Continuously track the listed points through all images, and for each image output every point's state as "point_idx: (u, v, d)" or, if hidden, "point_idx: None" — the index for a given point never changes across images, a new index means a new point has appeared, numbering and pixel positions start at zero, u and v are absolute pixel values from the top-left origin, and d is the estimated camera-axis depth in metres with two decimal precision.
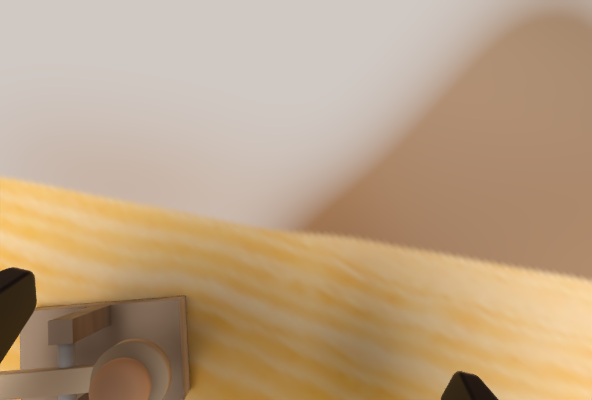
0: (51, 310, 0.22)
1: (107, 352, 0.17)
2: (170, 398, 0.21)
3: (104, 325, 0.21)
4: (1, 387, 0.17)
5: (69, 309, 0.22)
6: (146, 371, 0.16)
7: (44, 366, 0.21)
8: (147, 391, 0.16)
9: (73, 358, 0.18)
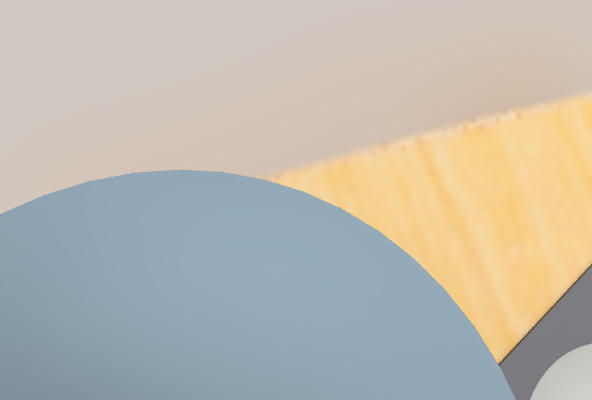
0: None
1: None
2: None
3: None
4: None
5: None
6: None
7: None
8: None
9: None
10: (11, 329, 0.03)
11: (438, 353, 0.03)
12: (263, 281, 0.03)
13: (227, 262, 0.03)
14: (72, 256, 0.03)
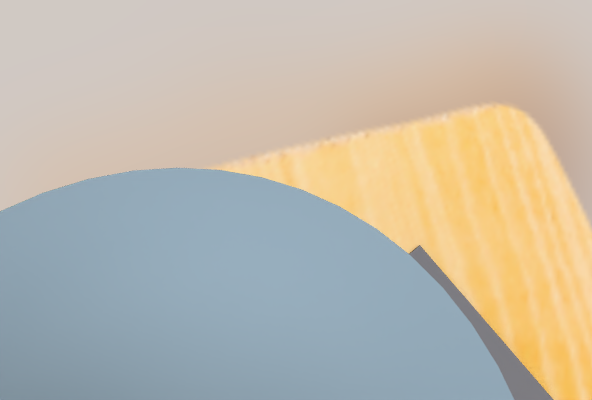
0: None
1: None
2: None
3: None
4: None
5: None
6: None
7: None
8: None
9: None
10: (9, 326, 0.03)
11: (435, 350, 0.03)
12: (261, 278, 0.03)
13: (223, 261, 0.03)
14: (70, 254, 0.03)
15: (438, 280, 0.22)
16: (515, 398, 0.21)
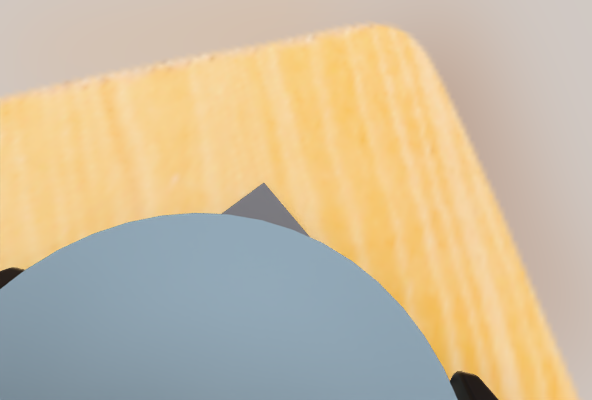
0: None
1: None
2: None
3: None
4: None
5: None
6: None
7: None
8: None
9: None
10: (70, 339, 0.04)
11: (395, 356, 0.04)
12: (261, 301, 0.04)
13: (232, 287, 0.04)
14: (115, 282, 0.04)
15: (283, 223, 0.18)
16: None
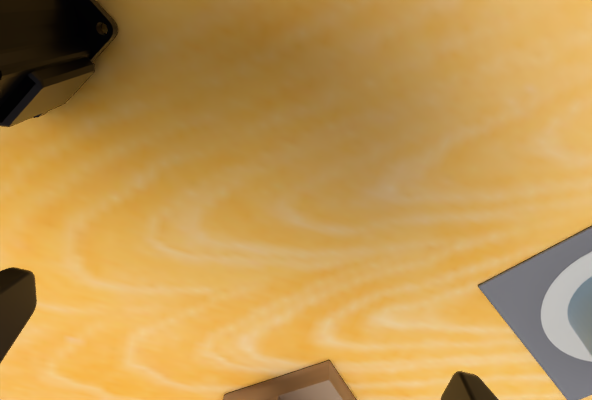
0: None
1: None
2: None
3: None
4: None
5: None
6: None
7: None
8: None
9: None
10: None
11: None
12: None
13: None
14: None
15: None
16: None
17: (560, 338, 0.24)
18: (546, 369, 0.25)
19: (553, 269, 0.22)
